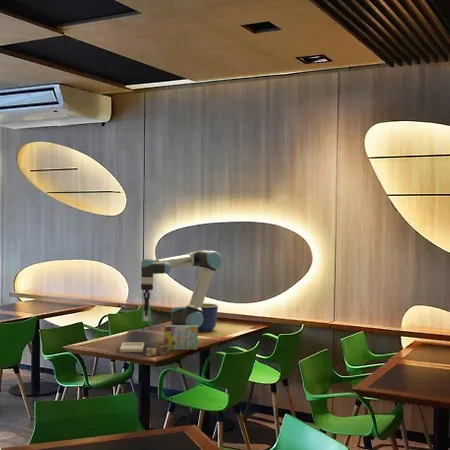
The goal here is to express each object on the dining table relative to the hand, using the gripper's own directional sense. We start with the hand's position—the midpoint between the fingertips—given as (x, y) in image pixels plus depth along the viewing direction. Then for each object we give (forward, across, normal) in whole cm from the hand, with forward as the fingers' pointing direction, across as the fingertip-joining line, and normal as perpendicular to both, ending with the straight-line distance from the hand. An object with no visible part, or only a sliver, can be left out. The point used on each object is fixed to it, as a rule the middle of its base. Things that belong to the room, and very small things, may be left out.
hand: (146, 320), depth 389 cm
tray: (+19, -3, -9) cm, 21 cm away
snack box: (+19, -2, +22) cm, 29 cm away
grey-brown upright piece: (+19, -17, +12) cm, 28 cm away
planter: (+19, -67, +40) cm, 81 cm away
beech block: (+19, +15, +4) cm, 25 cm away
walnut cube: (+19, +12, +12) cm, 26 cm away
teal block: (0, 0, 0) cm, 0 cm away
